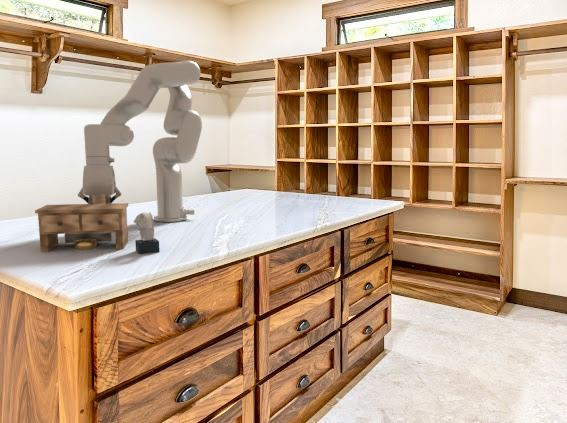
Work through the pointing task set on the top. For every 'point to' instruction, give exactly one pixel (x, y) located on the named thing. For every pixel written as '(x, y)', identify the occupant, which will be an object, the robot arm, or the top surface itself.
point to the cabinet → (82, 222)
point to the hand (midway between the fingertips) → (100, 215)
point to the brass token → (85, 243)
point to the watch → (146, 234)
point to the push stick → (98, 236)
